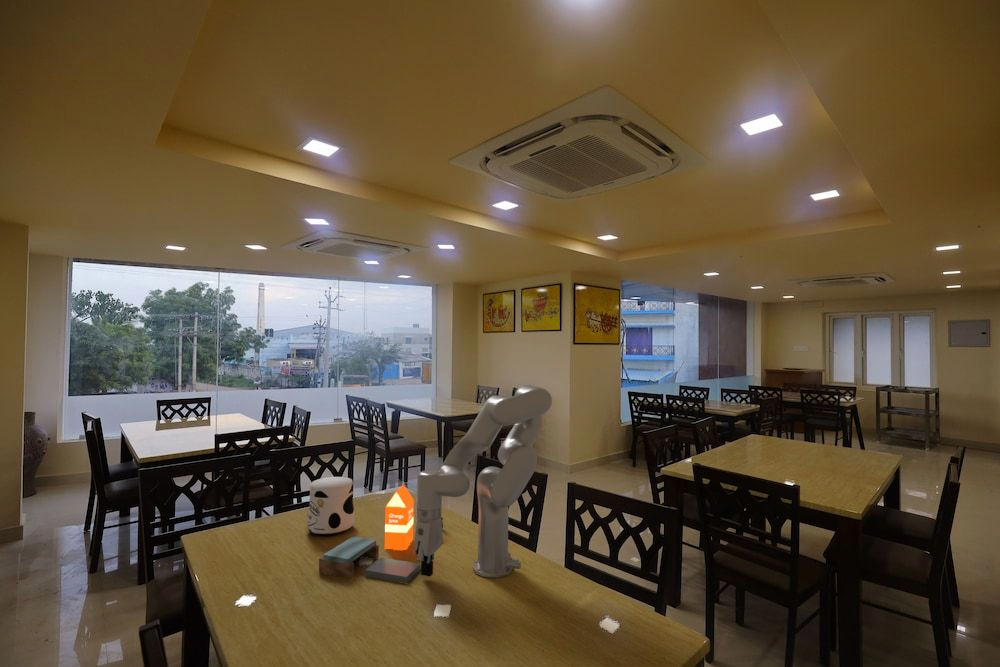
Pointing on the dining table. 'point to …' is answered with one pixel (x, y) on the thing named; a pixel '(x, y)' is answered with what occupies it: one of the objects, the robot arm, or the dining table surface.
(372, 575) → the slate tile
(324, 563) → the shelf dock
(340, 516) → the milk container
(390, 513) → the orange juice
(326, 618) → the dining table surface
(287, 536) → the dining table surface
